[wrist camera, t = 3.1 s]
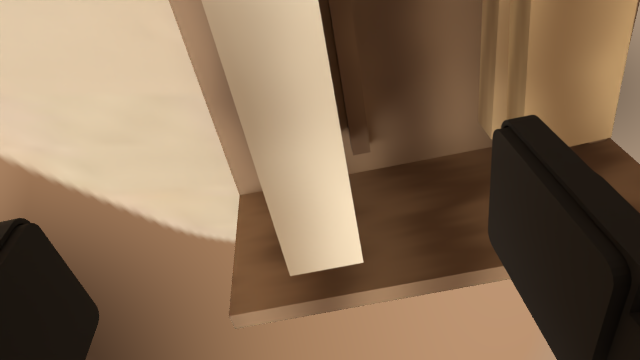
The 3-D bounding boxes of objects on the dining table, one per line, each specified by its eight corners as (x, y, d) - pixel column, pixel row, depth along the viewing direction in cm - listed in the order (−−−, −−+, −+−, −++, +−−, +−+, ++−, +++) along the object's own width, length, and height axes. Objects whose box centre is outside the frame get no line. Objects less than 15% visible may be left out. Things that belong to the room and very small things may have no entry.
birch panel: (268, -234, 17) (266, -298, 9) (335, 134, 26) (363, 262, 18) (189, -216, 17) (116, -263, 9) (284, 144, 27) (289, 276, 19)
